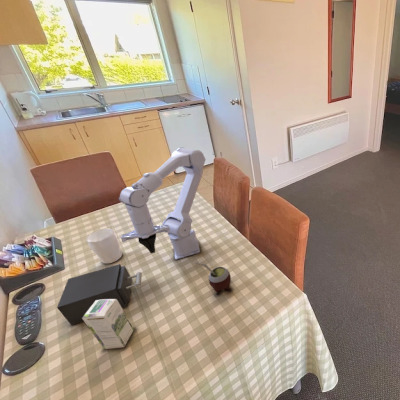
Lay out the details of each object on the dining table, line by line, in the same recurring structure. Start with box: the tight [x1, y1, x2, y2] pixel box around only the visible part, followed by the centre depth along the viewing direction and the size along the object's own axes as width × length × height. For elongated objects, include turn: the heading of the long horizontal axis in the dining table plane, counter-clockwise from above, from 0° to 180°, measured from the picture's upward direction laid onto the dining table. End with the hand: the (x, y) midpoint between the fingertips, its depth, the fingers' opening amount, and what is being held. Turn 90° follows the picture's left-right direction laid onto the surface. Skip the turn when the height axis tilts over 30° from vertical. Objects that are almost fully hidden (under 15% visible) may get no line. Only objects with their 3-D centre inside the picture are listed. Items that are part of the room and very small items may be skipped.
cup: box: [85, 227, 123, 264], centre depth 106 cm, size 9×9×12 cm
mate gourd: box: [194, 262, 232, 296], centre depth 90 cm, size 8×8×15 cm
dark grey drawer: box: [117, 265, 143, 304], centre depth 90 cm, size 18×11×7 cm, turn 117°
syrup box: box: [82, 299, 135, 350], centre depth 75 cm, size 6×6×14 cm
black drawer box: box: [56, 263, 127, 326], centre depth 88 cm, size 15×13×9 cm
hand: (153, 251), depth 98 cm, fingers closed
